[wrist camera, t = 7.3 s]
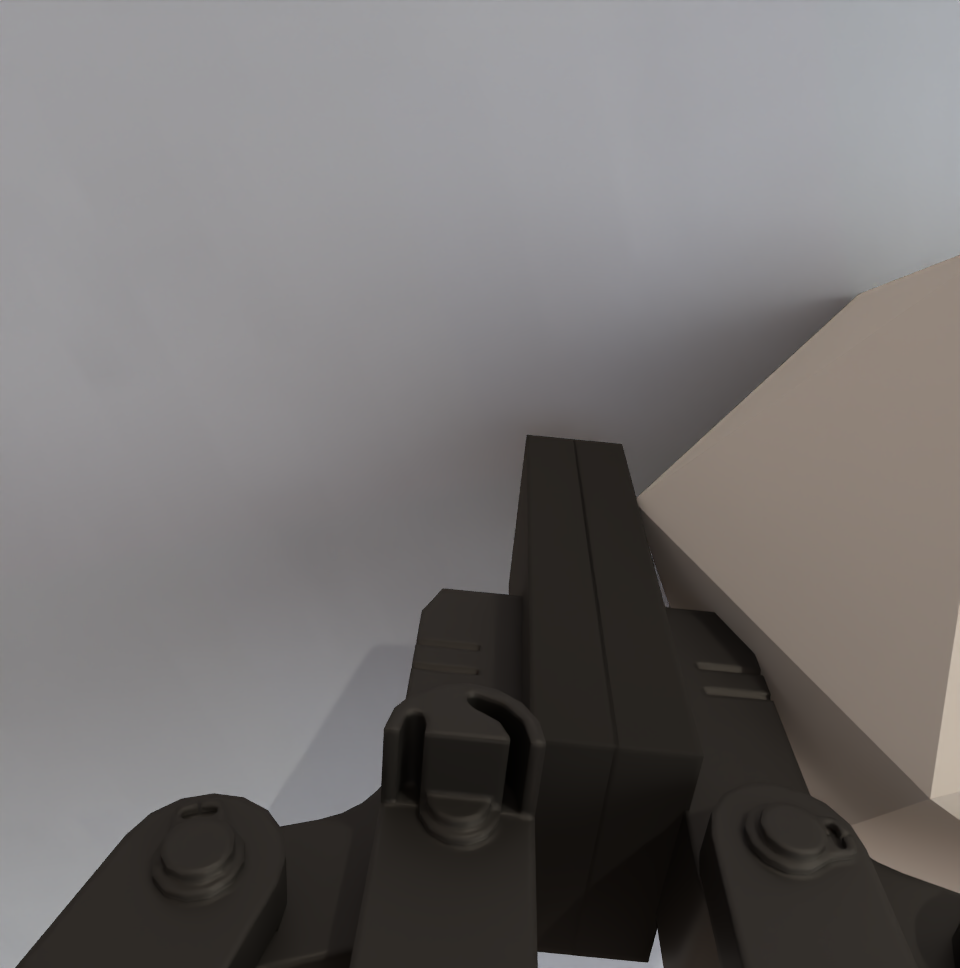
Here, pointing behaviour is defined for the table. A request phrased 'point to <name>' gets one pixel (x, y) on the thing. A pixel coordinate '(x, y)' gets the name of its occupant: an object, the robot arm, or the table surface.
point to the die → (844, 560)
